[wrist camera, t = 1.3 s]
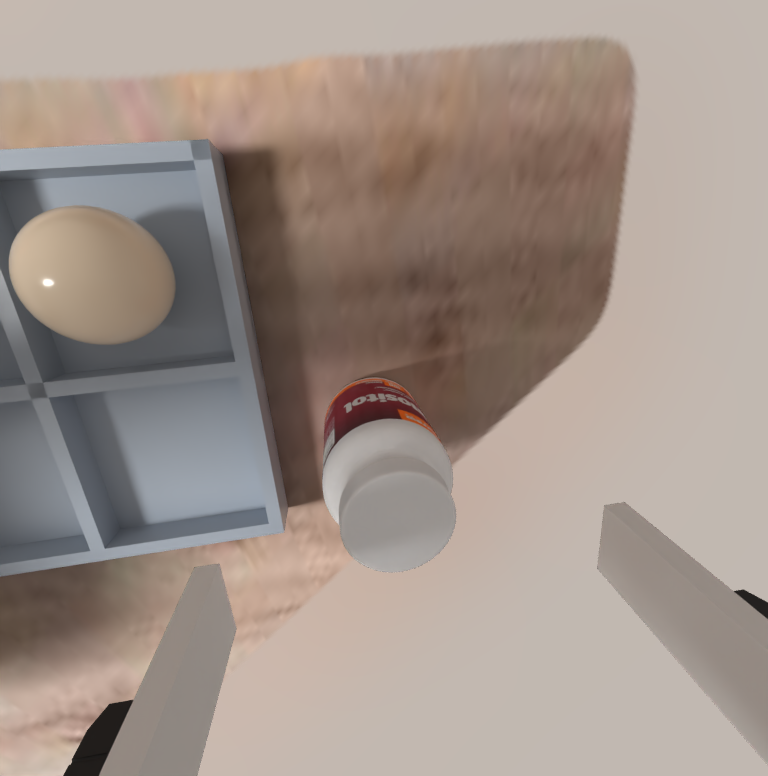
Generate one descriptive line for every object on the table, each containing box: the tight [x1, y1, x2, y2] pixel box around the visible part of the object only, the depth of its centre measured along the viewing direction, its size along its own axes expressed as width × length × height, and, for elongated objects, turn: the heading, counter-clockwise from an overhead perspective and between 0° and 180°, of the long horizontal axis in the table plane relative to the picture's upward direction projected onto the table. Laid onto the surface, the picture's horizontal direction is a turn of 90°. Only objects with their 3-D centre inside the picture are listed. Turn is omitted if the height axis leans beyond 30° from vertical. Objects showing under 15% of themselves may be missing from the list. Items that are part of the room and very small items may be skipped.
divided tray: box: [0, 139, 288, 577], centre depth 21 cm, size 21×21×3 cm
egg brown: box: [9, 205, 176, 345], centre depth 18 cm, size 6×6×6 cm
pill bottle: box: [322, 377, 456, 572], centre depth 20 cm, size 6×6×11 cm
